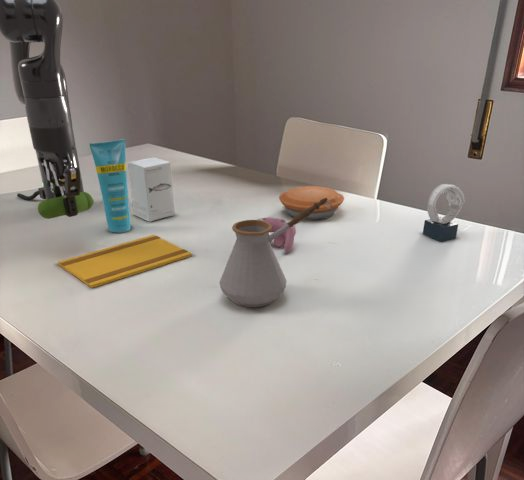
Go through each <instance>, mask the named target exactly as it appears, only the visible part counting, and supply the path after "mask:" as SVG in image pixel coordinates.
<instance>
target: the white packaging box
mask: <svg viewBox="0 0 524 480" xmlns="http://www.w3.org/2000/svg"><path fill="white" fill-rule="evenodd" d="M171 163H172V162H171V161H167V160H166V159H165V160H164V159H161V158H158V157H155V156H154V157H148V158H143V159H138V160H131V161H128V162H127V169H128V177H129V184H130V192H131V199H132V207H133V208H132V209H133V215H134V216H136V217H138V218H140V219H142V220H145V221H146V222H149V223H151V222H153V221H157V220H161V219H164V218H165V219H166V218H169V217H173V216H175V215H176V210H175V198H174V188H173V187H174V185H173V176H172V175H173V174H172V165H171Z"/></svg>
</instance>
